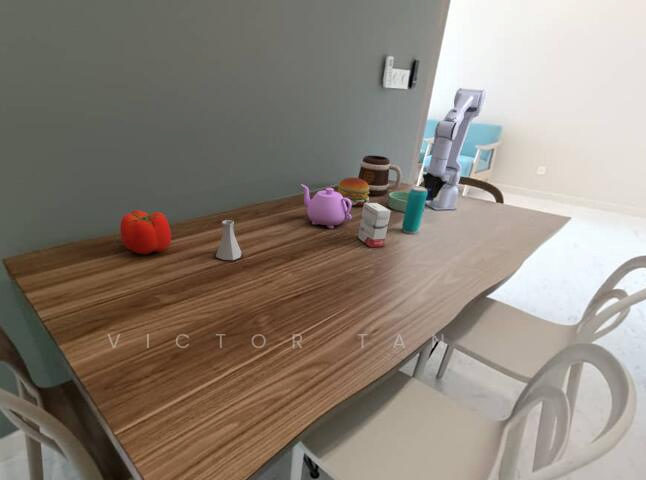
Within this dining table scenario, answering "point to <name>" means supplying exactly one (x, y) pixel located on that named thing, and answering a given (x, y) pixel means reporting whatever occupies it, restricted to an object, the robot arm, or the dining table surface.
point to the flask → (228, 243)
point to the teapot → (327, 207)
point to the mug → (378, 174)
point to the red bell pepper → (145, 232)
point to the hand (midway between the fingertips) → (430, 195)
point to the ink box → (374, 224)
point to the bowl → (398, 200)
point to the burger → (354, 190)
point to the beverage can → (414, 209)
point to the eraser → (432, 198)
